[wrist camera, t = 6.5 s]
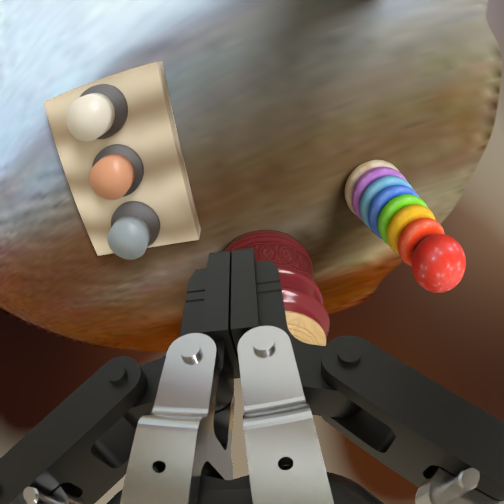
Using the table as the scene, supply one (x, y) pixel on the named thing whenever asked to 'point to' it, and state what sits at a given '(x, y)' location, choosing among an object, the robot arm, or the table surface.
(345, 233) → the table surface
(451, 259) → the stacking toy
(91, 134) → the ivory button
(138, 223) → the slate button
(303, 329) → the canister
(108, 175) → the terracotta button
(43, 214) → the table surface
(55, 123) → the button panel
